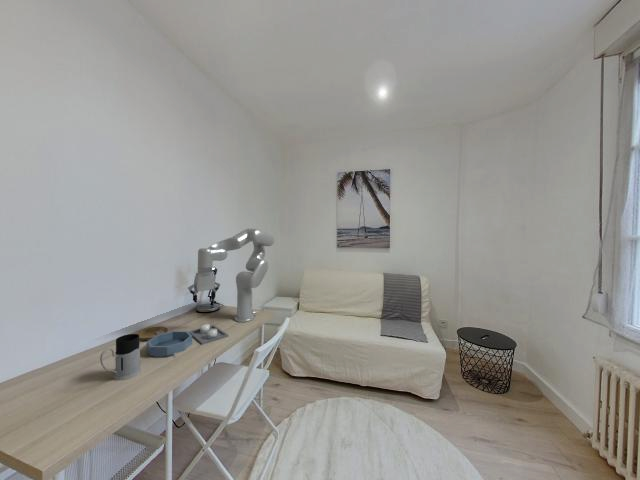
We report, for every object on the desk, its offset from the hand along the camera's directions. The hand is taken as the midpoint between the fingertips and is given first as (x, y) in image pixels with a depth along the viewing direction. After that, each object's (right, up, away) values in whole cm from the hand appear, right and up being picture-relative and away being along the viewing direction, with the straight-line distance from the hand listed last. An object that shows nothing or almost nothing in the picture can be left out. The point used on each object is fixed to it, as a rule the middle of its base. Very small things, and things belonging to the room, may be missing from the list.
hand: (204, 300), depth 140 cm
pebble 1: (0, -18, +1) cm, 18 cm away
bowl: (-9, -20, -17) cm, 27 cm away
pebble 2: (+7, -19, -6) cm, 21 cm away
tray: (+3, -19, -3) cm, 20 cm away
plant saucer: (-27, -19, -4) cm, 33 cm away
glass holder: (-14, -21, -42) cm, 49 cm away
